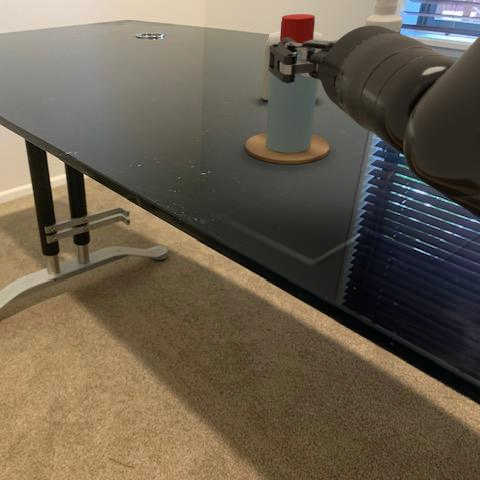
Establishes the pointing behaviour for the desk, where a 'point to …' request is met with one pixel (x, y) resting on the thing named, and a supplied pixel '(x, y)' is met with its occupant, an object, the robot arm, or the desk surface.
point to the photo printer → (273, 39)
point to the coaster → (261, 152)
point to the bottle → (290, 113)
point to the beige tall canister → (385, 16)
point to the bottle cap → (298, 27)
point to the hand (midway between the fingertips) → (322, 44)
